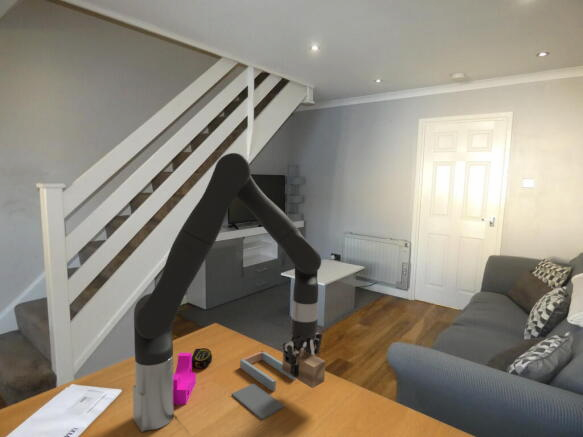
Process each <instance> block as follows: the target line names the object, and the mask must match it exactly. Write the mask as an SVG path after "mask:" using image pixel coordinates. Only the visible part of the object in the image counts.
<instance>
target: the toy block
mask: <svg viewBox="0 0 583 437" xmlns="http://www.w3.org/2000/svg"><path fill="white" fill-rule="evenodd" d="M192 356H193V353H192V352H179V353H178V355H177V364H176V369H175V373H173V392H174V405H187V403H188V402H189V399H190V397H191V395H192V393H193V390H194V388H195V386H196V383H197V381H196V380H197V378H196V377H197V373H196V372H193V371H192V370H193V368H192Z"/></svg>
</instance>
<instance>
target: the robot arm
mask: <svg viewBox="0 0 583 437" xmlns="http://www.w3.org/2000/svg"><path fill="white" fill-rule="evenodd" d="M235 199H238V201H239V202H241V204H243V205H244V206H245V207H246V208H247V209H248V210H249V211H250V213H251V214H252V215H253V216H254V217H255V219H256V220H257V221H258V222H259V223H260V225H261V226H262V227H263V228H264V230H265V231H266V232H267V234H269V235H270V237H271V238H272V239H273V240H274V242H276V244H277V245H278V246H279V247H280V248H281V249H282V250H283V252H285V254H286V256H288V258H289V259H290V261H291V263H292V264H293V265H294V284H293V296H292V299H293V300H292V304H291V320H290V331H291V332H290V333H291V334H292V336H291V338H290V341H289V342H288V343H287V342H284V343H283V344H282V349H283V350H284V357H285V362H287V363H289V364H290V365H291V371H290V373H291V374H292V376H294V377H298V370H299V365H298V363H299V359H300V357H302V355H303V352H304V351H306V352H309V353H310V354H312V355H314V356H316V355H318V354H319V353H320V350H321V346H322V345H321V343H322V340H323V339H322V338H323V334H322V333H320V332H318V320H319V282H318V271H319V269H321V266H322V257H321V254H320V253H319V252H318V250H317V249H316V247H314V246H313V245H311V244H310V242H308V240H307V239H306V238H305V237H304V236H303V234H302V233H301V231H300V230H299V228H298V227H297V226H296V225H295V224H294V222H293V221H292V220H291V219H290V218H289V216H287V214H286V213H285V212H284V211H283V210H282V209H281V208H280V207H279V206H278V205H277V204H275V203H274V201H272V200H271V199H270V198H268V197H267V195H266V194H265V193H264V192H263V191H262V189H261V188H260V187H259V186H258V184H257V183H256V181H255V180H254V179H253V177H252V175H251V166H250V163H249V161H248V160H247V158H246V157H245V156H243V155H242V154H240V153H237V152H230V153H227V154H225V155H223V156H221V157H220V158H219V159H218V161H217V162H216V165H215V168H214V170H213V172H212V175H211V176H210V180H209V182H208V184H207V185H206V188H205V191H204V193H203V195H202V196H201V198H200V200H199V201H198V202H197V204H196V205H195V206H194V207H193V208H192V211H191V212H190V214H189V215H188V217H187V218H186V220H185V221H184V223H183V225H182V226H181V229H180V230H179V232H178V234H177V236H176V237H175V239H174V241H173V243H172V245H171V247H170V250H169V253H168V256H167V258H166V261H165V265H164V267H163V271H162V274H161V277H160V278H159V280H158V282H157V284H156V285H155V287H154V289H153V291H152V292H150V293H148V294H145V295H143V296H142V297H141V298H140V299H139V300H138V301H137V302H136V303H135V306H134V309H133V325H134V326H133V328H134V329H133V330H134V331H133V332H134V368H135V369H134V373H135V374H134V375H135V378H134V379H135V385H133V386H132V399H133V400H132V402H133V403H132V406H133V421H134V422H135V424H136V426H137V427H138V429H139V430H140V432H142V433H143V432H145V431H151V430H159V429H160V428H163V427H165V426H167V424H169V423H170V422H172V420H173V418H174V414H175V412H174V411H175V406H174V405H175V404H174V392H173V374H174V342H173V334H172V333H173V331H172V330H173V328H172V327H173V325H174V322H175V318H176V317H177V314H178V312H179V309H180V307H181V305H182V302H183V300H184V297H185V296H186V293H187V291H188V289H189V288H190V286H191V284H192V283H193V282H194V280H195V278H196V276H197V274H198V273H199V271H200V269H201V267H202V266H203V264H204V262H205V260H206V259H207V257H208V256H209V253H210V252H211V250H212V248H213V246H215V245H214V244H215V242H216V240H217V238H218V236H219V235H220V232H221V230H222V226H223V224H224V221H225V218H226V215H227V213H228V211H229V208H230V207H231V205H232V204H233V202H234V200H235ZM283 350H282V351H283ZM296 350H297V351H299V353H298V352H296ZM295 356H296V359H294V357H295Z"/></svg>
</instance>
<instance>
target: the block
mask: <svg viewBox="0 0 583 437" xmlns="http://www.w3.org/2000/svg"><path fill="white" fill-rule="evenodd" d="M296 352H298V353H299V351H297V350H296ZM294 359H296V356H295V357H294ZM282 363H283V364H282V370H283V371H285V372H286V373H288V374H290V375H291V376H292V374H291V373H290V371H291V365H290V364H289V363H287V362H285V357H284V350H282ZM298 365H299V370H298V377H295V378H296V379H295V380H298V381H300V382H301V383H302V384H304V385H306V386H308V387H310V388H311V389H314V388H315V387H317V386H319V385H321V384H323V383H324V382H325V379H326V378H325V377H326V360H324V359H322V358H321V357H319V356H316V355H315V356H314V355H312V354H310V353H309V352H306V351H304V352H303V355H302V357H300V359H299V363H298ZM293 377H294V376H293Z"/></svg>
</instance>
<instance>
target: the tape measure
mask: <svg viewBox="0 0 583 437" xmlns="http://www.w3.org/2000/svg"><path fill="white" fill-rule="evenodd" d="M212 360H213V354H212V351H211V350H210V349H209V348H205V347H203V348H202V347H201V348H195V349H194V351H193V353H192V369H194V368H197V369H203V368H207V367H208V366H209V365H211V363H212Z"/></svg>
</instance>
